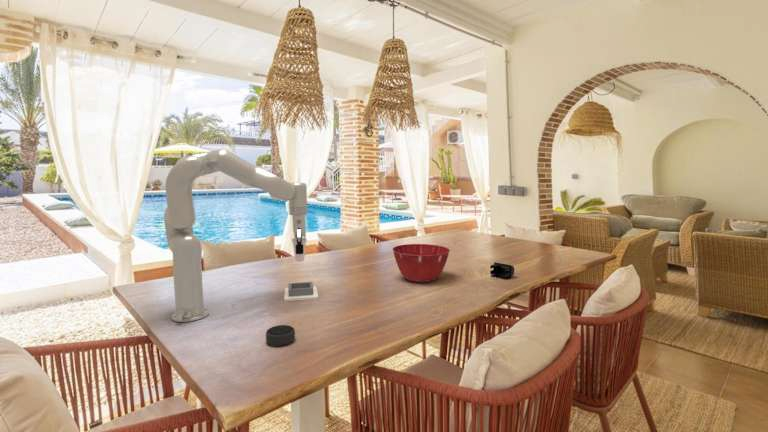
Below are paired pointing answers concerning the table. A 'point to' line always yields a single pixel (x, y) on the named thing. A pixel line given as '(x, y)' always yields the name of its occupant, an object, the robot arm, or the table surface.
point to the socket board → (300, 291)
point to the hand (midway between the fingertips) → (299, 251)
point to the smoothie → (301, 256)
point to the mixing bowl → (420, 261)
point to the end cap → (502, 271)
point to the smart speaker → (280, 335)
